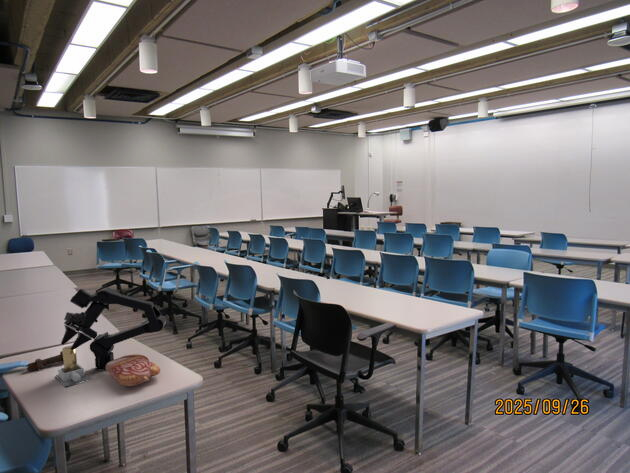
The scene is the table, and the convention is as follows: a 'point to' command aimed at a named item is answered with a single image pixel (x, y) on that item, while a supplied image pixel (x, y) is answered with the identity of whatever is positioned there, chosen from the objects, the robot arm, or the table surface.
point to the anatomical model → (132, 369)
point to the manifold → (72, 376)
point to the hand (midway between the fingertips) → (66, 346)
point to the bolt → (45, 362)
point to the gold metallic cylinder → (69, 359)
